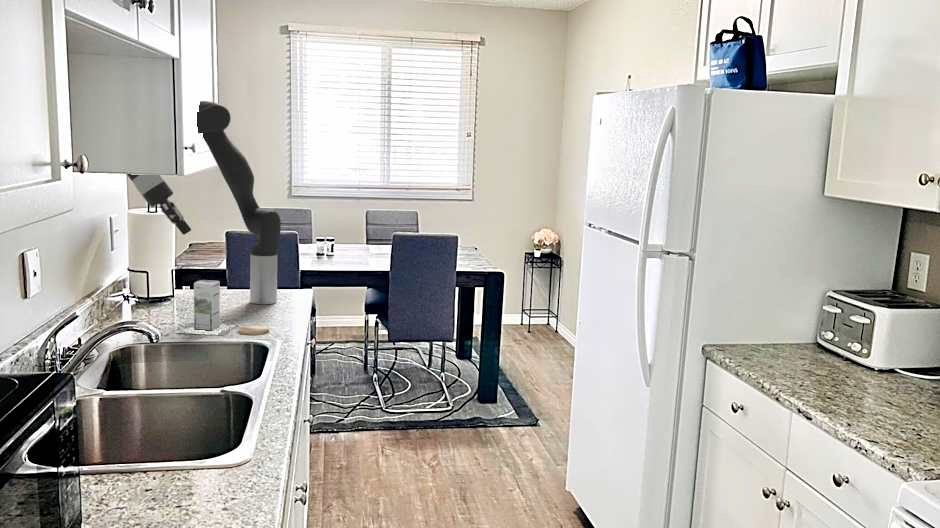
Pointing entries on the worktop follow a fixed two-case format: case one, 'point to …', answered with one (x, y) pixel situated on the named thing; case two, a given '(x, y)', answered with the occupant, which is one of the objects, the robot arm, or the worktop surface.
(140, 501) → the worktop surface
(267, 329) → the cork coaster
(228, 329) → the plaque
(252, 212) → the robot arm
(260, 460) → the worktop surface
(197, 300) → the syrup box
